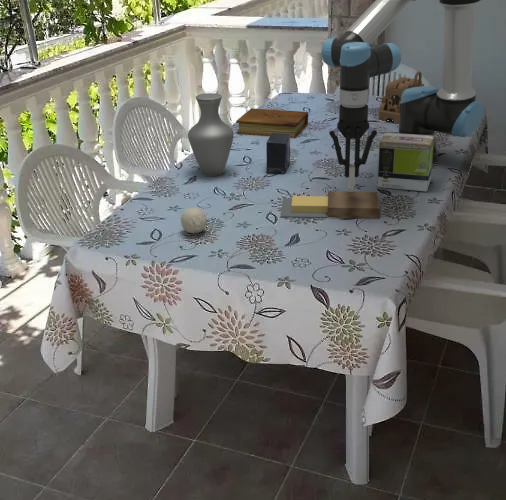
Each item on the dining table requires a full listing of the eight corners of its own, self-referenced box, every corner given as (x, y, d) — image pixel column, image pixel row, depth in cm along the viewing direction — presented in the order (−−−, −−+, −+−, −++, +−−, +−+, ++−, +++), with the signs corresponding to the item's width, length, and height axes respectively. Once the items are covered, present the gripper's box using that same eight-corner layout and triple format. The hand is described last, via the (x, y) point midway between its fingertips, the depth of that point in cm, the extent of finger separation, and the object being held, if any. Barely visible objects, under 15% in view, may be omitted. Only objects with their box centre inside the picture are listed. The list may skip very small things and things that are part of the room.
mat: (326, 200, 200) (326, 198, 200) (326, 218, 189) (326, 217, 189) (283, 199, 202) (283, 198, 201) (280, 217, 190) (280, 216, 190)
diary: (308, 125, 270) (308, 111, 267) (295, 140, 254) (295, 124, 252) (252, 121, 276) (251, 107, 274) (236, 135, 261) (236, 120, 258)
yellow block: (327, 202, 198) (327, 196, 197) (327, 212, 191) (327, 206, 190) (292, 202, 198) (292, 195, 198) (291, 212, 192) (291, 205, 191)
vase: (218, 183, 214) (214, 104, 203) (181, 176, 221) (175, 98, 210) (243, 169, 225) (241, 93, 214) (207, 162, 232) (203, 88, 221)
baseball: (187, 240, 179) (185, 216, 176) (178, 229, 185) (176, 206, 182) (211, 235, 181) (210, 211, 178) (202, 224, 187) (201, 202, 184)
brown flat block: (376, 201, 199) (377, 191, 197) (379, 218, 188) (380, 208, 187) (327, 200, 200) (328, 191, 199) (327, 217, 189) (328, 207, 188)
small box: (285, 174, 220) (285, 142, 216) (265, 173, 222) (265, 142, 217) (291, 163, 230) (291, 132, 225) (271, 162, 231) (271, 132, 226)
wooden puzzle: (400, 108, 288) (403, 63, 279) (432, 113, 279) (436, 67, 271) (373, 120, 272) (376, 73, 264) (406, 126, 264) (410, 77, 256)
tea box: (430, 181, 212) (435, 134, 205) (427, 193, 204) (431, 144, 197) (381, 176, 217) (384, 130, 210) (376, 187, 208) (379, 140, 202)
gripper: (328, 108, 179) (327, 192, 189) (379, 107, 177) (375, 192, 188) (328, 100, 185) (327, 182, 196) (378, 99, 184) (374, 182, 195)
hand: (351, 187), depth 192 cm, fingers closed
